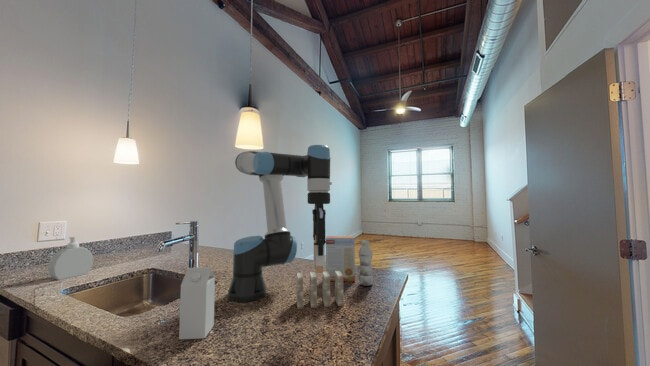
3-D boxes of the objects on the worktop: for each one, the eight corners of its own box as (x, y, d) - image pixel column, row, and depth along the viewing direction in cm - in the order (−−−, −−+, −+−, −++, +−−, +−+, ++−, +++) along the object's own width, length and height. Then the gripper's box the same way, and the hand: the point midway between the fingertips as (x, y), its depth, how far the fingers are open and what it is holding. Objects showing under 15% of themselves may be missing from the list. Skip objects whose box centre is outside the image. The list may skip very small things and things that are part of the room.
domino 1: (297, 308, 90) (297, 277, 91) (296, 301, 96) (297, 272, 97) (302, 308, 91) (303, 277, 91) (302, 301, 97) (302, 272, 97)
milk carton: (190, 327, 78) (192, 264, 79) (213, 326, 78) (215, 264, 79) (178, 340, 70) (181, 271, 72) (204, 339, 71) (206, 270, 72)
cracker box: (354, 278, 125) (354, 235, 126) (355, 282, 118) (354, 237, 120) (326, 277, 126) (326, 235, 127) (325, 281, 120) (325, 237, 121)
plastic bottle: (374, 283, 116) (374, 240, 118) (371, 288, 110) (370, 242, 112) (361, 281, 119) (360, 239, 120) (357, 286, 113) (356, 241, 114)
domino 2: (311, 307, 91) (311, 277, 92) (309, 301, 97) (309, 272, 98) (316, 307, 91) (316, 276, 92) (314, 300, 97) (314, 272, 98)
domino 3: (324, 306, 92) (324, 276, 92) (322, 300, 98) (322, 271, 98) (330, 306, 92) (330, 276, 93) (327, 300, 98) (327, 271, 99)
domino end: (316, 273, 78) (316, 237, 79) (314, 267, 84) (314, 234, 85) (323, 272, 79) (323, 237, 79) (320, 267, 85) (320, 234, 85)
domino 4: (338, 306, 93) (337, 275, 93) (335, 299, 98) (335, 271, 99) (343, 305, 93) (343, 275, 93) (340, 299, 99) (339, 270, 99)
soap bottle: (86, 271, 137) (88, 234, 138) (93, 272, 135) (95, 235, 136) (46, 280, 122) (49, 239, 123) (52, 281, 120) (55, 239, 121)
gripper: (335, 191, 74) (335, 270, 73) (325, 192, 93) (325, 255, 92) (309, 191, 73) (309, 271, 72) (305, 192, 92) (305, 256, 90)
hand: (318, 262), depth 82 cm, fingers closed on domino end, 6 cm apart
